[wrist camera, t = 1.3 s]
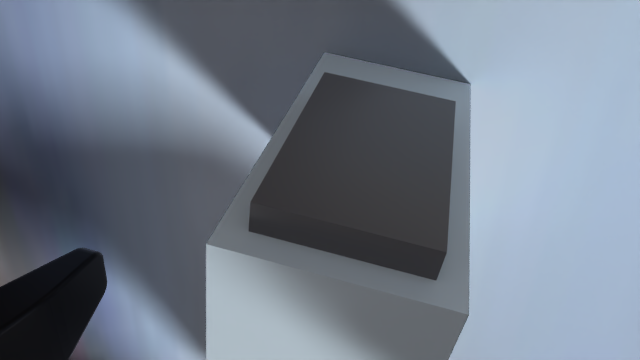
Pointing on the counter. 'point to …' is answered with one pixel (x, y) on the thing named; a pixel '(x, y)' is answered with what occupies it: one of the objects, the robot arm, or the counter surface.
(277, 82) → the counter surface
